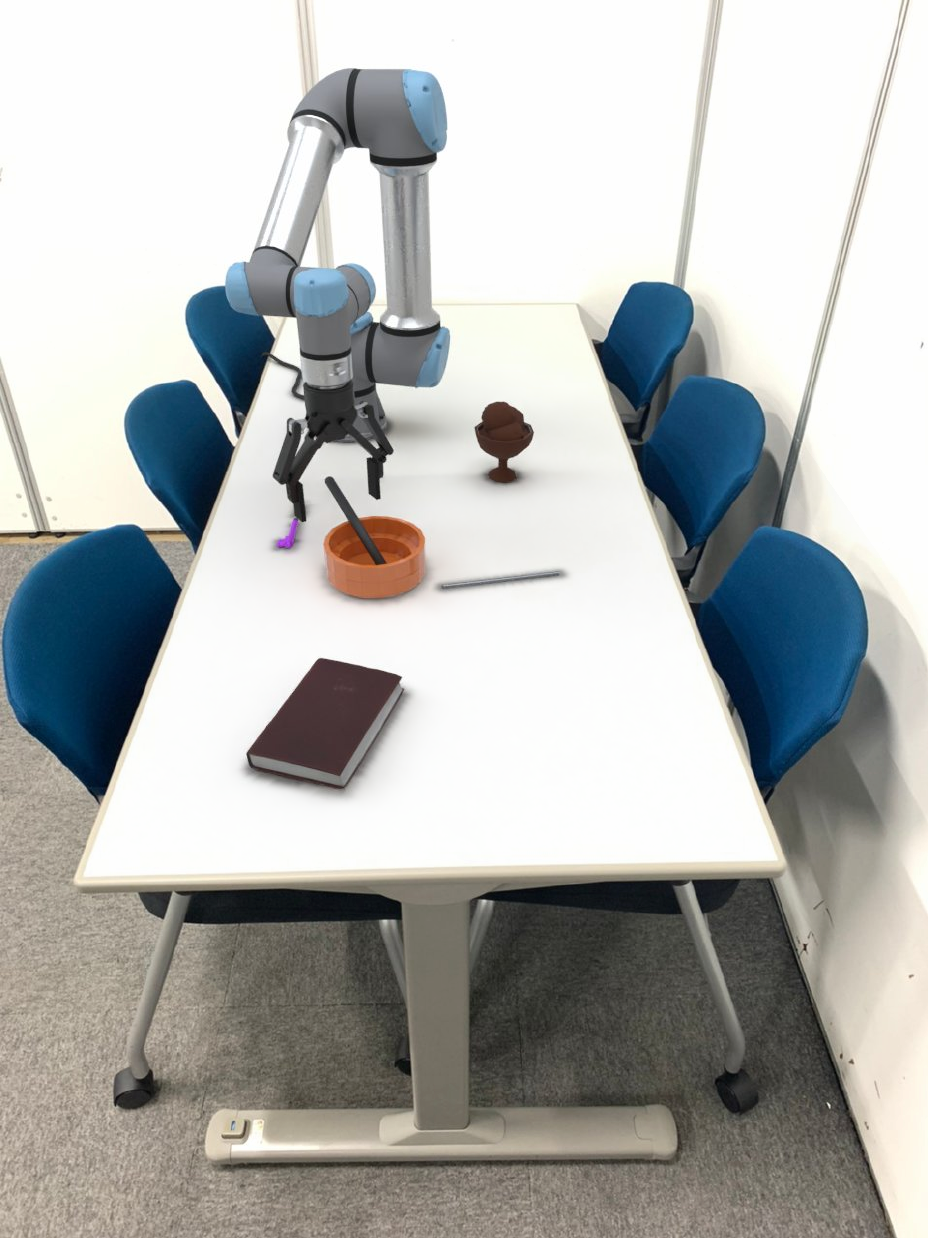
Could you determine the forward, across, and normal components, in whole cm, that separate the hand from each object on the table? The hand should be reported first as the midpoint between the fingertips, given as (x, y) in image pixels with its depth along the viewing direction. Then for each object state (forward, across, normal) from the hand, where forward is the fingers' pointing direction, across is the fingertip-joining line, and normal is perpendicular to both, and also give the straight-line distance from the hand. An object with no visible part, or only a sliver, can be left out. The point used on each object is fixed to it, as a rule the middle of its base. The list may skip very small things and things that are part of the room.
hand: (338, 507), depth 145 cm
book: (+7, -23, -39) cm, 46 cm away
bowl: (+7, 0, -11) cm, 13 cm away
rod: (+7, +15, -24) cm, 29 cm away
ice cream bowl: (+7, +37, +5) cm, 38 cm away
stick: (+1, 0, -6) cm, 7 cm away
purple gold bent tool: (+7, -4, +10) cm, 13 cm away
